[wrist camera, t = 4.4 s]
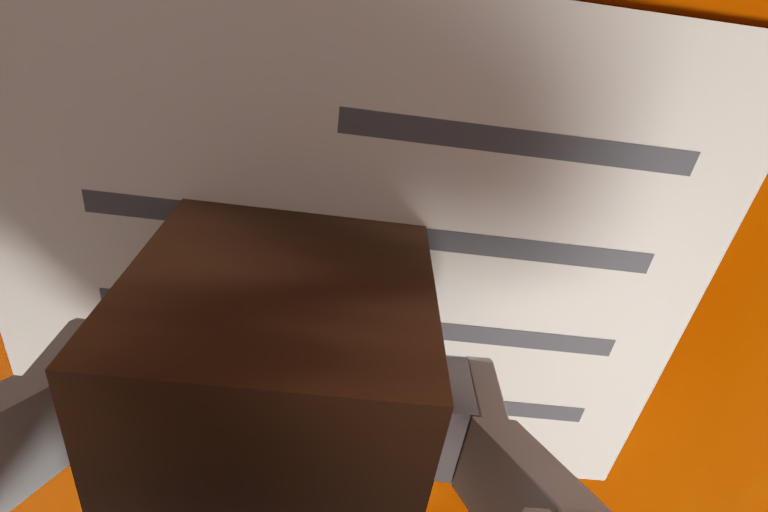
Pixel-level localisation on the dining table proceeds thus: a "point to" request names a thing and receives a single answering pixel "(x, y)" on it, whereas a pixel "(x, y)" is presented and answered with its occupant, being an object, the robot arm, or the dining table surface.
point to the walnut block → (260, 369)
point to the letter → (401, 166)
